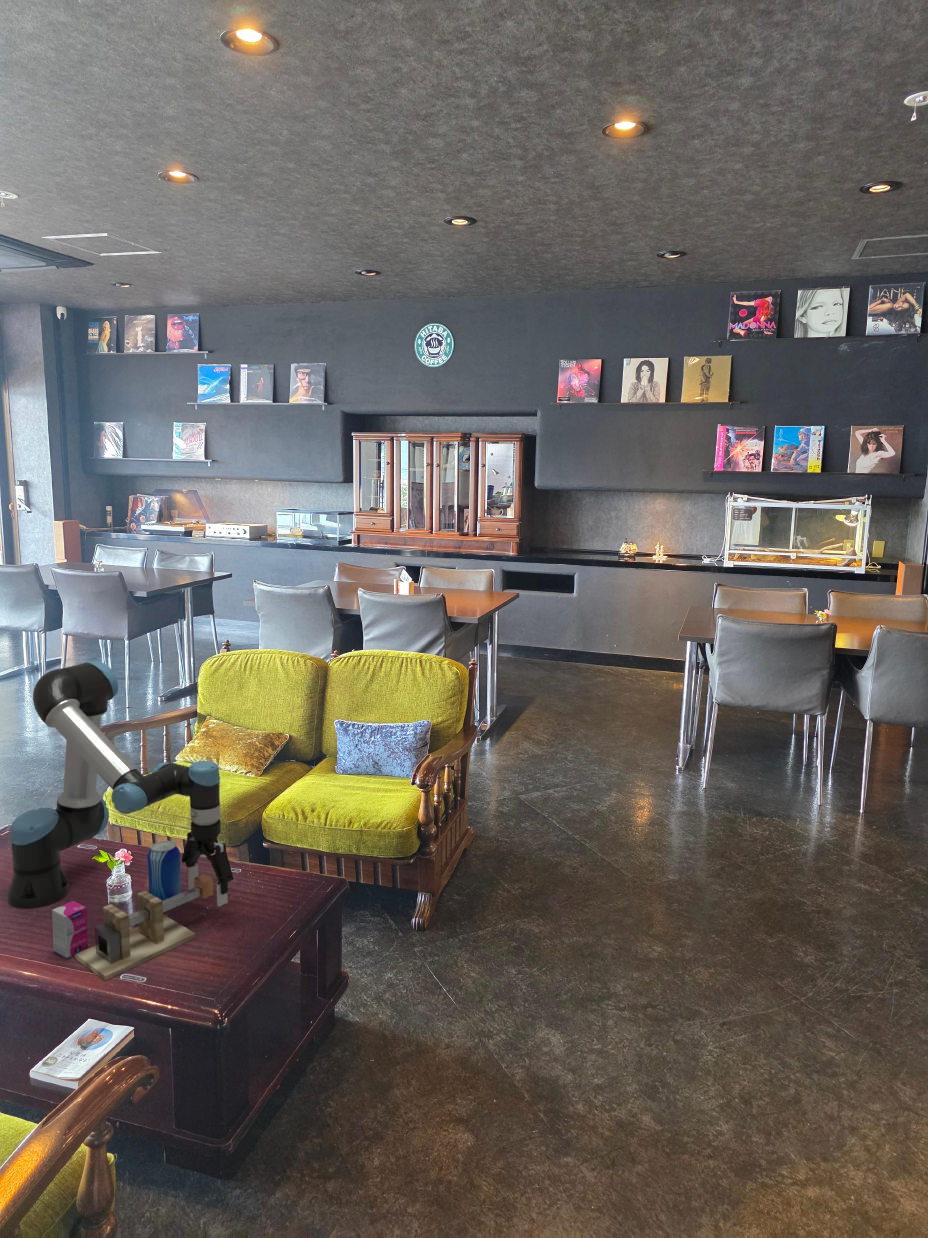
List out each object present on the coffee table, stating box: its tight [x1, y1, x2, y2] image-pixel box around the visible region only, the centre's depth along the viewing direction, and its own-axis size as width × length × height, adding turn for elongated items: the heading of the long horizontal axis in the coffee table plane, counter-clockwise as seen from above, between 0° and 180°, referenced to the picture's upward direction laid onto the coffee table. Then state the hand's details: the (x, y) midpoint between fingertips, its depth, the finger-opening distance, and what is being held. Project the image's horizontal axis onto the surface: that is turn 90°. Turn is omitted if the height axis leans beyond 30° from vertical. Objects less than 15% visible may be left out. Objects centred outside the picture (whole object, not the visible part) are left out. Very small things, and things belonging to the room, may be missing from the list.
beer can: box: [147, 840, 182, 901], centre depth 226 cm, size 8×8×16 cm
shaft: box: [128, 874, 214, 928], centre depth 209 cm, size 4×23×4 cm, turn 142°
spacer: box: [94, 922, 121, 964], centre depth 196 cm, size 7×2×7 cm, turn 52°
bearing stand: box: [74, 890, 196, 982], centre depth 202 cm, size 14×24×12 cm, turn 142°
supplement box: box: [51, 900, 89, 960], centre depth 200 cm, size 6×6×12 cm
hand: (207, 896), depth 218 cm, fingers open, 12 cm apart
